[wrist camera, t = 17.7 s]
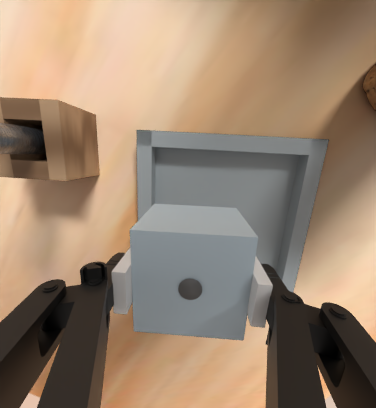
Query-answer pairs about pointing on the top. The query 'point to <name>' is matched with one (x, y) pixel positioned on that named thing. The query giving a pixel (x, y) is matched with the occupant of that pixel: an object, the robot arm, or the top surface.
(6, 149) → the rod
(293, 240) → the tray
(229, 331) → the block
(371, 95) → the block
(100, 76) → the top surface
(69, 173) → the bored block
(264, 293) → the robot arm
